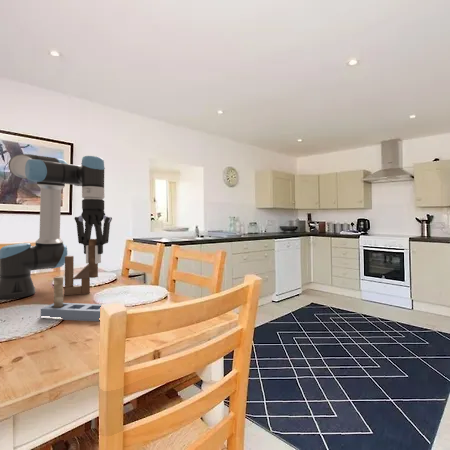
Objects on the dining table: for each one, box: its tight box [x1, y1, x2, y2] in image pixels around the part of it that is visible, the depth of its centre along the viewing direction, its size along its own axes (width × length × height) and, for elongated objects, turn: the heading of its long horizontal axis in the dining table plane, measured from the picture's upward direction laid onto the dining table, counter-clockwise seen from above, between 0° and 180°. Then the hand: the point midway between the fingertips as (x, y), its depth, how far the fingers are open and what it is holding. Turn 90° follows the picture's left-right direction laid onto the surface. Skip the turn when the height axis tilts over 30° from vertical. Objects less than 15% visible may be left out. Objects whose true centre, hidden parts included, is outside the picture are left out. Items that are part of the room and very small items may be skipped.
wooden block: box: [63, 255, 91, 296], centre depth 138 cm, size 4×11×18 cm, turn 115°
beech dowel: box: [53, 276, 64, 308], centre depth 107 cm, size 3×3×14 cm
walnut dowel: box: [88, 238, 99, 279], centre depth 107 cm, size 3×3×14 cm
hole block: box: [40, 302, 103, 322], centre depth 107 cm, size 22×8×4 cm, turn 86°
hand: (93, 262), depth 107 cm, fingers closed on walnut dowel, 3 cm apart
